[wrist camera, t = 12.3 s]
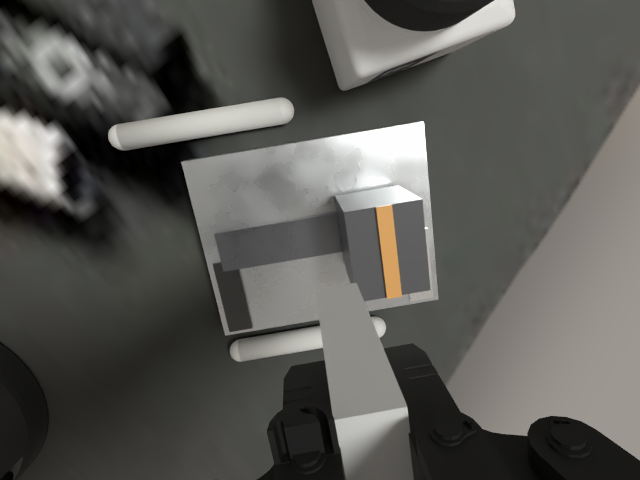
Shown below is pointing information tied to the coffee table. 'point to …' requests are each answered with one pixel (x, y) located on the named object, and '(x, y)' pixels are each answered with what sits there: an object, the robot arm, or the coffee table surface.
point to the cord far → (285, 342)
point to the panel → (296, 219)
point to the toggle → (384, 242)
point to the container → (401, 32)
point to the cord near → (201, 124)
